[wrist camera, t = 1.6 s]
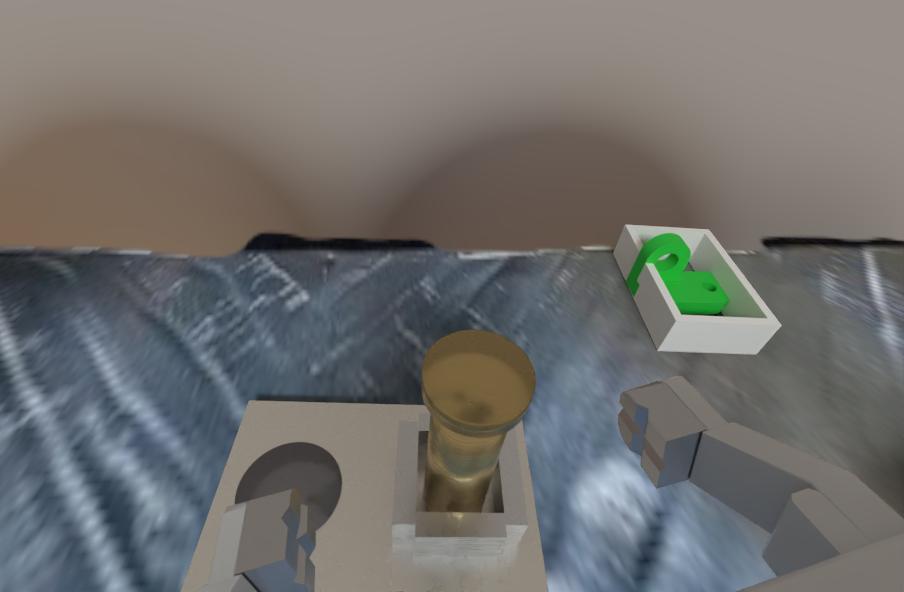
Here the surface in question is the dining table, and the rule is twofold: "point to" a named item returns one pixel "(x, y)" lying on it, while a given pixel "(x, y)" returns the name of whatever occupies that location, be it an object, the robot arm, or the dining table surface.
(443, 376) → the brass flanged pin
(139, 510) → the dining table surface
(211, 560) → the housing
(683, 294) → the mechanical part
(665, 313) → the parts tray
